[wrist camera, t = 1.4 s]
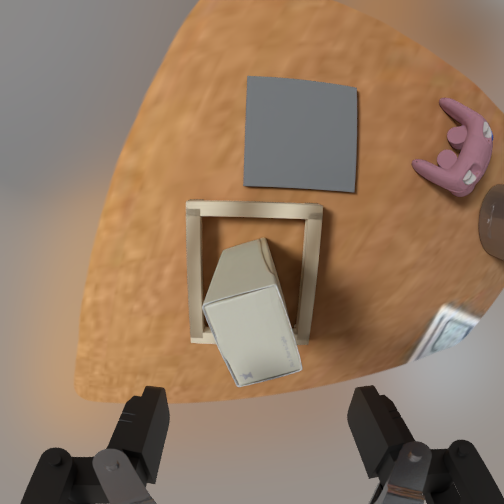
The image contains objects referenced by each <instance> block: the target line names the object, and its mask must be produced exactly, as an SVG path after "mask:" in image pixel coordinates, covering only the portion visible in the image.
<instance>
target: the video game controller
mask: <svg viewBox="0 0 504 504" xmlns="http://www.w3.org/2000/svg"><path fill="white" fill-rule="evenodd" d="M439 105H440V106H441V107H442V109H443V110H444V111H445V112H446V113H447V114H448V115H450V116H451V117H452V118H454V119H455V120H456V121H458V122H459V123H461V124H462V126H459V127H454V128H451V129H450V130H449V131H448V134H447V138H448V140H449V142H450V144H451V146H452V147H453V148H455V149H461V152H460V154H459V157H458V158H457V156H456V154H455V153H454V152H453V151H451V150H443V151H442V152H440V154H439V155H438V157H437V162H438V164H439V166H440V167H438V166H436V165H434V164H432V163H430V162H427V161H425V160H420V159H415V160H413V161H412V166H413V168H414V169H415V170H416V171H417V172H418V173H419V174H420V175H421V176H423V177H424V178H426V179H427V180H429V181H431V182H433V183H435V184H436V185H438V186H441V187H443V188H445V189H447V190H449V191H450V192H451V193H452V194H453V195H455V196H458V197H463V196H466V195H468V194H469V193H471V192H472V190H473V189H474V187H475V185H476V184H477V182H478V181H479V180H480V179H481V177H482V176H483V175H484V173H485V171H486V169H487V167H488V164H489V161H490V158H491V154H492V147H493V142H492V141H493V134H492V131H491V129H490V126H489V124H488V122H487V121H486V120H485V119H484V118H483V117H482V116H481V115H480V114H478V113H477V112H475V111H473V110H472V109H470V108H468V107H466V106H464V105H463V104H461V103H459V102H457V101H455V100H453V99H450V98H441V99H440V100H439Z"/></svg>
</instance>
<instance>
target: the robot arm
mask: <svg viewBox="0 0 504 504" xmlns="http://www.w3.org/2000/svg"><path fill="white" fill-rule="evenodd" d="M479 235H480V240H481V243H482V245H483V247H484V249H485V251H486V252H488V253H489V254H490V255H493V256H495V257H497V258H499V259H501V260H504V184H498V185H496V186H494V187H492V188H491V189H490V190H489V192H488V193H487V195H486V196H485V199H484V201H483V203H482V207H481V210H480V216H479ZM169 416H170V414H169V408H168V403H167V398H166V392H165V389H164V388H162V387H153V386H146V387H145V389H144V392H143V394H142V397H140V396H133V397H132V398H131V399H130V400H129V401H128V402H127V403H126V404H125V407H124V409H123V411H122V414H121V416H120V418H119V421H118V423H117V426H116V428H115V430H114V433H113V435H112V437H111V440H110V442H109V445H108V447H107V448H106V449H105V450H102V451H100V452H98V453H97V454H96V455H95V456H94V457H71V456H70V454H69V453H68V452H67V451H66V450H64V449H62V448H50V449H48V450H46V451H45V452H44V453H43V454H42V455H41V457H40V459H39V462H38V464H37V466H36V468H35V471H34V473H33V475H32V477H31V480H30V482H29V484H28V486H27V489H26V492H25V494H24V496H23V499H22V501H21V504H96V503H97V504H102V503H103V504H107V503H108V504H156V502H155V501H154V499H153V498H152V497H151V496H150V494H149V493H148V491H147V490H146V484H147V483H151V484H155V482H156V478H157V473H158V469H159V464H160V460H161V456H162V452H163V447H164V443H165V439H166V435H167V431H168V426H169V420H170V417H169ZM347 418H348V424H349V427H350V429H351V432H352V435H353V437H354V440H355V442H356V445H357V448H358V450H359V453H360V456H361V458H362V461H363V463H364V466H365V469H366V471H367V474H368V477H369V479H370V478H375V477H379V480H380V482H379V483H378V485H377V487H376V489H375V491H374V494H373V496H372V498H371V500H370V502H369V504H423V503H424V500H426V503H427V504H504V498H503V496H502V494H501V492H500V490H499V488H498V486H497V485H496V483H495V481H494V479H493V478H492V476H491V474H490V472H489V470H488V469H487V467H486V465H485V464H484V462H483V460H482V458H481V457H480V455H479V453H478V452H477V450H476V448H475V447H474V445H473V444H472V443H470V442H469V441H466V440H457V441H454V442H453V443H452V444H451V446H450V447H449V448H448V449H430V448H429V447H428V446H427V445H425V444H424V443H422V442H418V441H415V440H414V438H413V436H412V434H411V433H410V431H409V429H408V427H407V426H406V424H405V422H404V420H403V419H402V418H401V415H400V413H399V412H398V411H397V409H396V407H395V405H394V403H393V402H392V401H391V400H390V399H389V398H388V397H386V396H385V395H379V393H378V392H377V390H376V388H375V387H374V386H373V385H371V386H364V387H357V388H356V389H355V391H354V394H353V398H352V401H351V404H350V407H349V410H348V414H347ZM454 484H455V485H454ZM455 486H456V487H455ZM456 488H457V489H456ZM457 490H458V491H457ZM458 492H459V493H458ZM422 493H423V495H422Z"/></svg>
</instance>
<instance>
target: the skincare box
mask: <svg viewBox="0 0 504 504" xmlns="http://www.w3.org/2000/svg"><path fill="white" fill-rule="evenodd" d="M202 309H203V312H204V315H205V317H206V320H207V322H208V325H209V327H210V329H211V332H212V334H213V337H214V339H215V341H216V344H217V346H218V348H219V351H220V353H221V355H222V357H223V359H224V361H225V363H226V365H227V367H228V369H229V371H230V373H231V375H232V377H233V379H234V381H235V383H236V385H237V387H242V386H246V385H251V384H255V383H259V382H264V381H267V380H271V379H275V378H279V377H282V376H285V375H289V374H292V373H295V372H299V371H301V370H302V364H301V360H300V355H299V351H298V348H297V344H296V341H295V337H294V334H293V330H292V327H291V323H290V320H289V316H288V312H287V308H286V304H285V300H284V296H283V293H282V289H281V286H280V282H279V279H278V275H277V272H276V269H275V265H274V262H273V259H272V256H271V252H270V249H269V246H268V243H267V240H266V238H261V239H258V240H254V241H250V242H247V243H244V244H241V245H237V246H234V247H231V248H228V249H225V250H223V251H222V254H221V257H220V259H219V262H218V265H217V267H216V270H215V273H214V275H213V278H212V281H211V284H210V286H209V289H208V292H207V294H206V297H205V300H204V302H203V305H202Z"/></svg>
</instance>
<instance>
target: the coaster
mask: <svg viewBox="0 0 504 504" xmlns="http://www.w3.org/2000/svg"><path fill="white" fill-rule="evenodd" d="M356 149H357V88H355V87H349V86H343V85H337V84H331V83H324V82H316V81H308V80H299V79H288V78H276V77H258V76H247V100H246V126H245V154H244V184H243V186H263V187H286V188H303V189H319V190H332V191H345V192H354V190H355V173H356Z"/></svg>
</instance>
